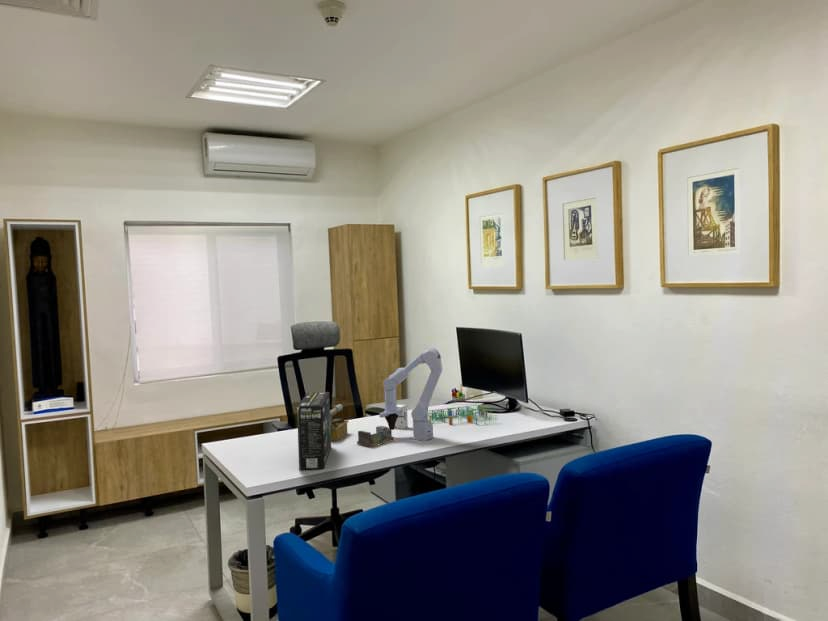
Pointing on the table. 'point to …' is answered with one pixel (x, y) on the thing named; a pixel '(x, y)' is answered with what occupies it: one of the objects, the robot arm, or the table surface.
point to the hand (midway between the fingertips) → (391, 429)
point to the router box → (314, 430)
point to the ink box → (402, 418)
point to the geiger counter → (337, 424)
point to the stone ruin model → (374, 438)
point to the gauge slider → (381, 428)
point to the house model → (468, 413)
